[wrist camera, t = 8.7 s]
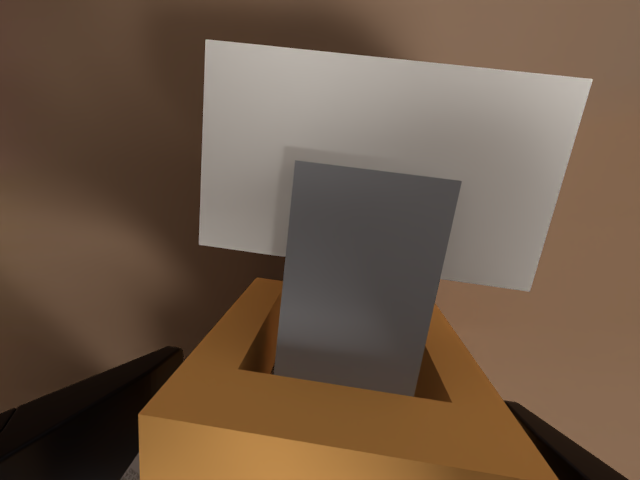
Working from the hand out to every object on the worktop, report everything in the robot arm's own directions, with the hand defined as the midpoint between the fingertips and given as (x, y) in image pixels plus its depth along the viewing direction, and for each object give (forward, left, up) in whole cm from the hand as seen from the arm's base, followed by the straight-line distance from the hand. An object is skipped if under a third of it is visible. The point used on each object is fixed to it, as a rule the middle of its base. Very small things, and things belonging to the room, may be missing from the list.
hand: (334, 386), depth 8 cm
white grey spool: (0, 0, -5) cm, 5 cm away
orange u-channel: (0, 0, -4) cm, 4 cm away
